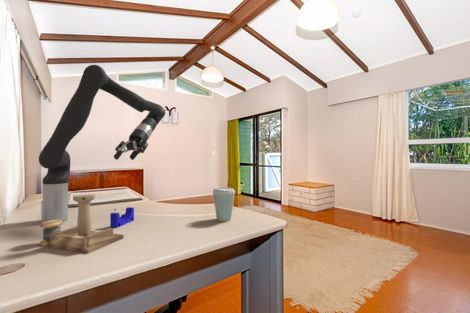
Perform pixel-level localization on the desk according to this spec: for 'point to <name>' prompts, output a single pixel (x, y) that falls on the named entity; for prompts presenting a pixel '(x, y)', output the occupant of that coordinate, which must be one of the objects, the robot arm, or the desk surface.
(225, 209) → the disposable coffee cup
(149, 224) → the desk surface
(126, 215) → the cable clip
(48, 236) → the bobbin
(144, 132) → the robot arm
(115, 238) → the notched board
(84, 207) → the handle
